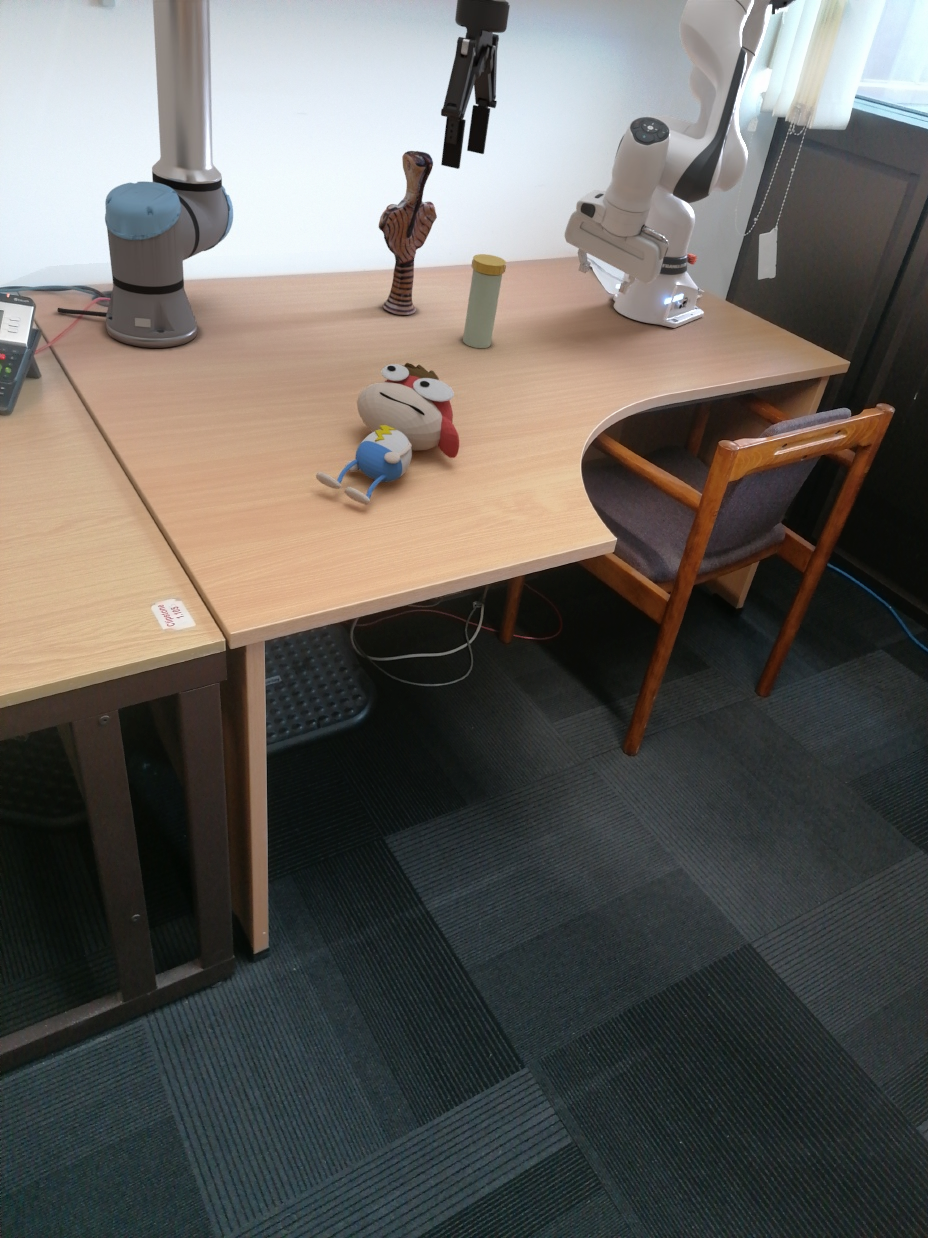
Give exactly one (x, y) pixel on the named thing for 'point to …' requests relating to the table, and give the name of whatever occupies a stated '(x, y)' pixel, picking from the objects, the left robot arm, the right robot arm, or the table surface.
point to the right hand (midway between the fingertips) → (603, 281)
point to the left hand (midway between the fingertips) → (463, 159)
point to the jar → (481, 309)
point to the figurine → (407, 230)
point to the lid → (488, 264)
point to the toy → (399, 425)
